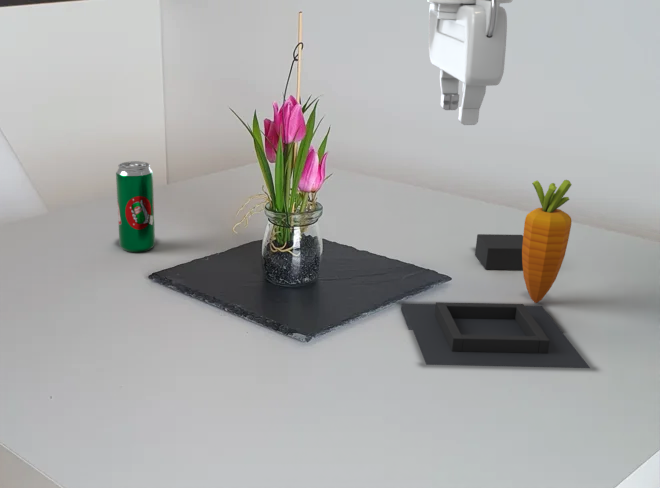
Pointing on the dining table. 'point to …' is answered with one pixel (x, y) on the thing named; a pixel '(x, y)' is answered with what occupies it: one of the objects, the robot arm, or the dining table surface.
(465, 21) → the robot arm
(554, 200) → the carrot
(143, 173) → the soda can
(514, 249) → the black block
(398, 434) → the dining table surface
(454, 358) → the socket mat
